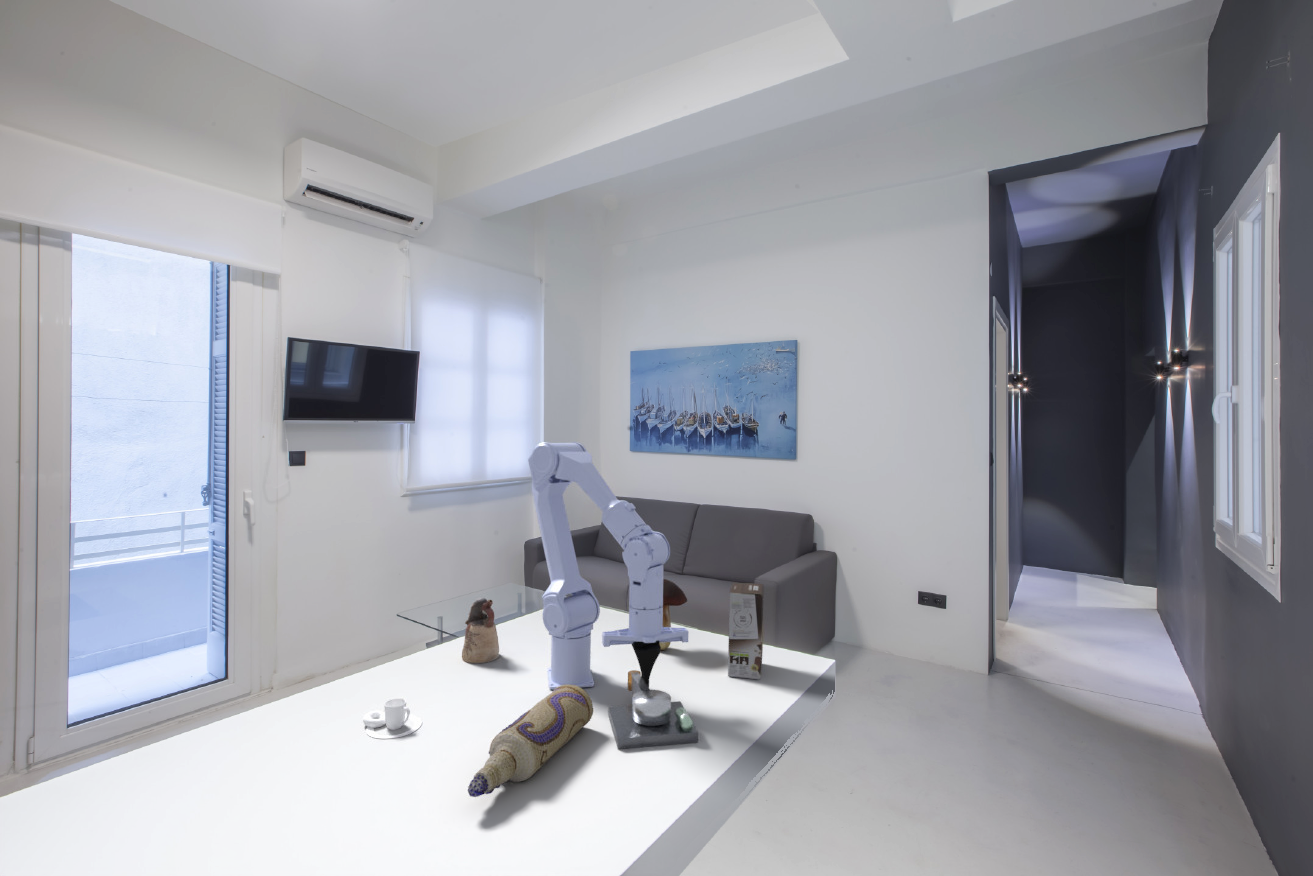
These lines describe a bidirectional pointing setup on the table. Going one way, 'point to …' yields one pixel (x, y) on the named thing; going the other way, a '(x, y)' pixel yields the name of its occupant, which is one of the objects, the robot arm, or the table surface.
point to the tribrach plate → (651, 728)
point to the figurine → (480, 634)
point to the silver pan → (648, 702)
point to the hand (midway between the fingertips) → (644, 685)
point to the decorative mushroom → (670, 604)
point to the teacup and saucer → (391, 719)
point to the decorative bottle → (533, 738)
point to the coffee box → (745, 630)
